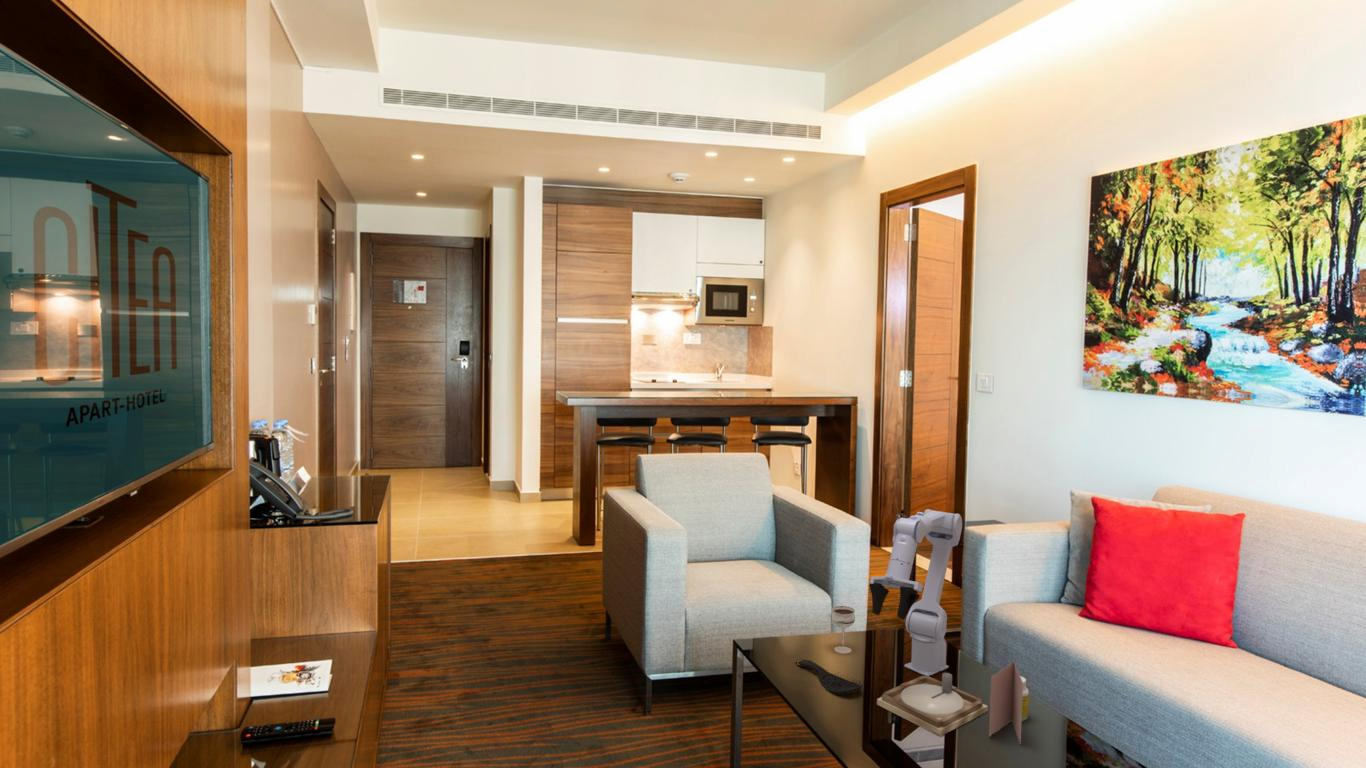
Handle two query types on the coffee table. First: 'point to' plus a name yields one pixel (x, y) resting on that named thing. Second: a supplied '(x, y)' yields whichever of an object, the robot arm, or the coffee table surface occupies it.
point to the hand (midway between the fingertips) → (887, 616)
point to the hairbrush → (832, 680)
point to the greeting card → (1006, 699)
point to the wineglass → (843, 623)
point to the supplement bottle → (1025, 699)
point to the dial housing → (934, 724)
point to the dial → (933, 698)
